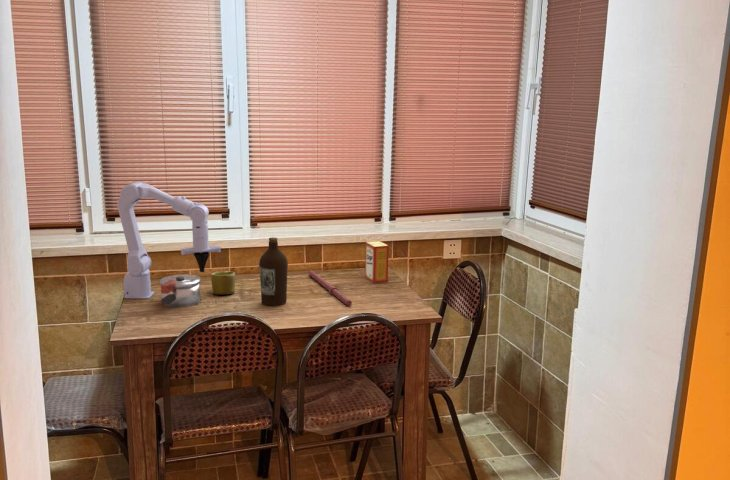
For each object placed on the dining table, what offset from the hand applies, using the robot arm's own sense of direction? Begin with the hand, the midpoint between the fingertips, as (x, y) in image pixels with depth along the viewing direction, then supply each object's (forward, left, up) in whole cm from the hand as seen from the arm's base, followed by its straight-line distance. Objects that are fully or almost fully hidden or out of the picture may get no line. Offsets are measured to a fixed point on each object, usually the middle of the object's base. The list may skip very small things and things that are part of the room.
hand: (201, 271), depth 247 cm
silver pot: (-8, -8, -10) cm, 15 cm away
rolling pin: (+48, +12, -11) cm, 51 cm away
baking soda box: (+68, +28, -11) cm, 74 cm away
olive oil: (+28, -5, -11) cm, 30 cm away
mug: (+7, +8, -11) cm, 15 cm away
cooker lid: (-7, -8, -3) cm, 12 cm away
